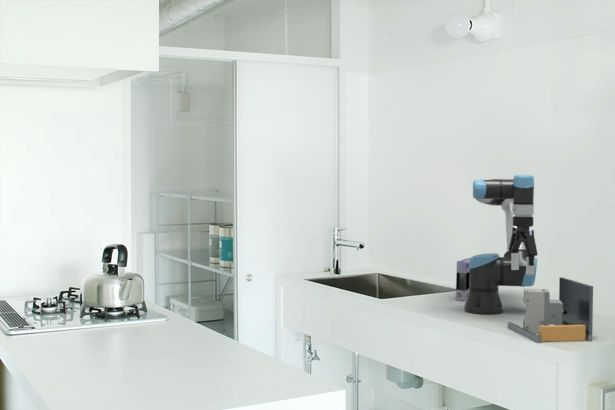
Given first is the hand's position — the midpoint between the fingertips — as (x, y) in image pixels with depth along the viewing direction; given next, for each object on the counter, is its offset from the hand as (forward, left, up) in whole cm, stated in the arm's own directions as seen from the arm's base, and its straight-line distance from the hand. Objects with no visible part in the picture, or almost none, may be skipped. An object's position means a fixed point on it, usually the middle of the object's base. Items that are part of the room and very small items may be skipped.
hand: (522, 272), depth 291 cm
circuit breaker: (+19, 0, -19) cm, 27 cm away
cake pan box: (-55, -1, -19) cm, 59 cm away
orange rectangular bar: (+32, 0, -19) cm, 37 cm away
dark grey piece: (+22, 0, -19) cm, 29 cm away
